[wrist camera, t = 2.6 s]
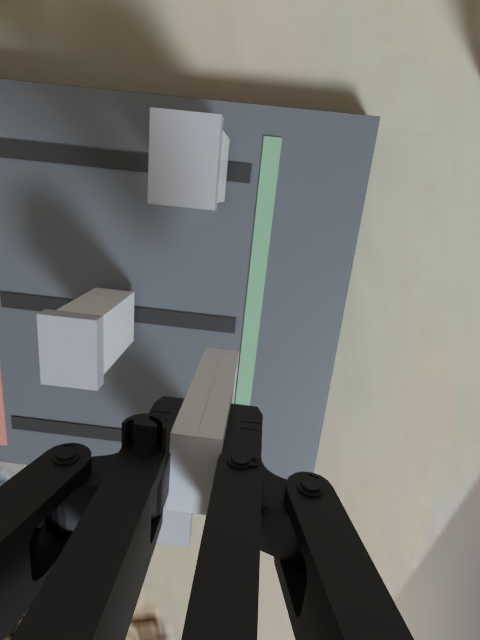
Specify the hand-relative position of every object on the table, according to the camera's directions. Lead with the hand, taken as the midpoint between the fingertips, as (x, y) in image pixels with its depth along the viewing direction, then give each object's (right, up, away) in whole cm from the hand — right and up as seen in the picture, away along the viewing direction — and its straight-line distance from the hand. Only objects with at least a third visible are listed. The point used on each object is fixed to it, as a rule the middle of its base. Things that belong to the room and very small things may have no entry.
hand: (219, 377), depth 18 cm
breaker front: (-1, +11, +4) cm, 12 cm away
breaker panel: (-7, +4, +9) cm, 12 cm away
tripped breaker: (-7, +3, +7) cm, 10 cm away
